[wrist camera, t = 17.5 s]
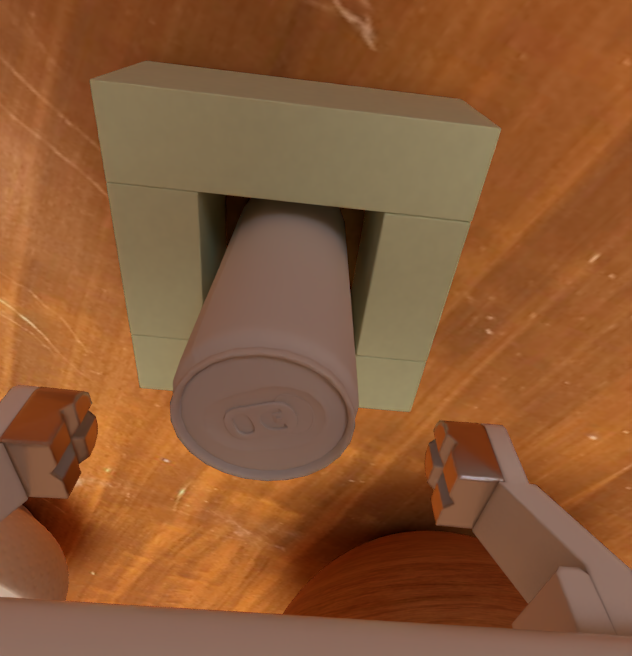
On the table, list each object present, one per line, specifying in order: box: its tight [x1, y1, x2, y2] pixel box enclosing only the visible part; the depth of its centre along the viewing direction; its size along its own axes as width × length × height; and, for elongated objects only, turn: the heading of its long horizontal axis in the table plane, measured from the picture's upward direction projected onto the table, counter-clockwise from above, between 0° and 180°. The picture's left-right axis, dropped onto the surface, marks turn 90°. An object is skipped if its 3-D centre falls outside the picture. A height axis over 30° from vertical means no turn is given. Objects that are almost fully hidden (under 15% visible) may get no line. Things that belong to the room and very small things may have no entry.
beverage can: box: [170, 198, 359, 481], centre depth 16 cm, size 5×5×12 cm
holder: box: [90, 61, 501, 412], centre depth 19 cm, size 12×12×5 cm
